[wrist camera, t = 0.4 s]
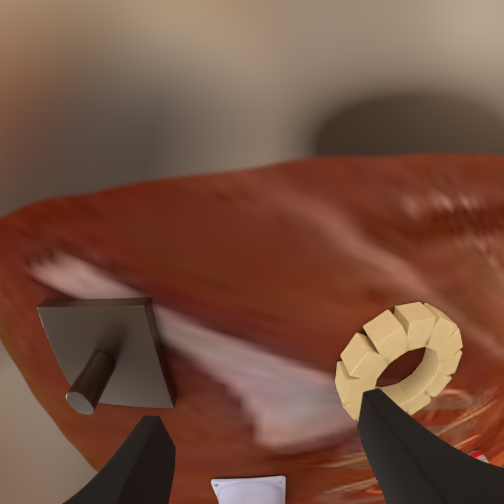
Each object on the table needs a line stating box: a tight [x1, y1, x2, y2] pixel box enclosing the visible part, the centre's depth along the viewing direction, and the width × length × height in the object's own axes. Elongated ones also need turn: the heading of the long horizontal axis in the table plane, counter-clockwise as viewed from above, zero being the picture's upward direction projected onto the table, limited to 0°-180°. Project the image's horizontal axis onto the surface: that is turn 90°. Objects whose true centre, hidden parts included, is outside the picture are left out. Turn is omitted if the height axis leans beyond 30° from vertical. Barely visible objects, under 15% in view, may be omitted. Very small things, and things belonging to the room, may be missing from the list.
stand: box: [37, 298, 177, 415], centre depth 17 cm, size 9×9×6 cm
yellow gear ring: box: [335, 302, 463, 420], centre depth 20 cm, size 10×10×2 cm
